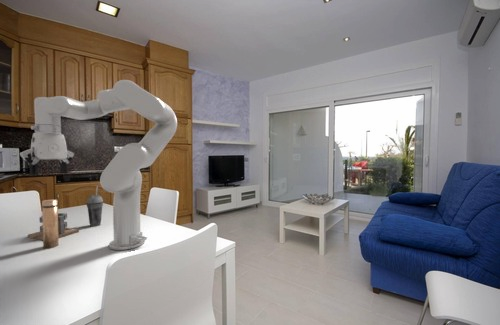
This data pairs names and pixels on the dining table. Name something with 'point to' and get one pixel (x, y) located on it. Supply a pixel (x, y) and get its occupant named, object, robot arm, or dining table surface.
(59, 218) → the collar stand
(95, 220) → the beverage cup
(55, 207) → the copper tube
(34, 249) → the dining table surface
